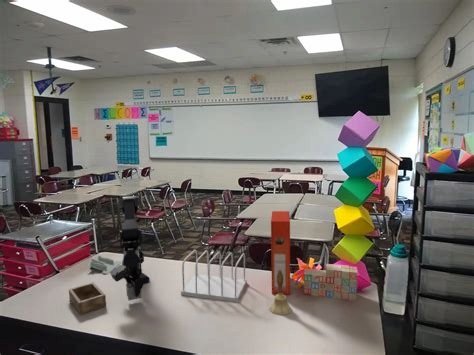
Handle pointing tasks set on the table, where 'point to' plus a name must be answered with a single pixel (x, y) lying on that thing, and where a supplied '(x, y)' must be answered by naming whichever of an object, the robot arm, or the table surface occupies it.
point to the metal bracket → (104, 264)
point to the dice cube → (131, 292)
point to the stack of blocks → (332, 282)
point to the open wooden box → (87, 298)
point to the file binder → (280, 250)
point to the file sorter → (214, 282)
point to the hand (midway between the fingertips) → (134, 293)
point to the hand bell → (280, 299)
